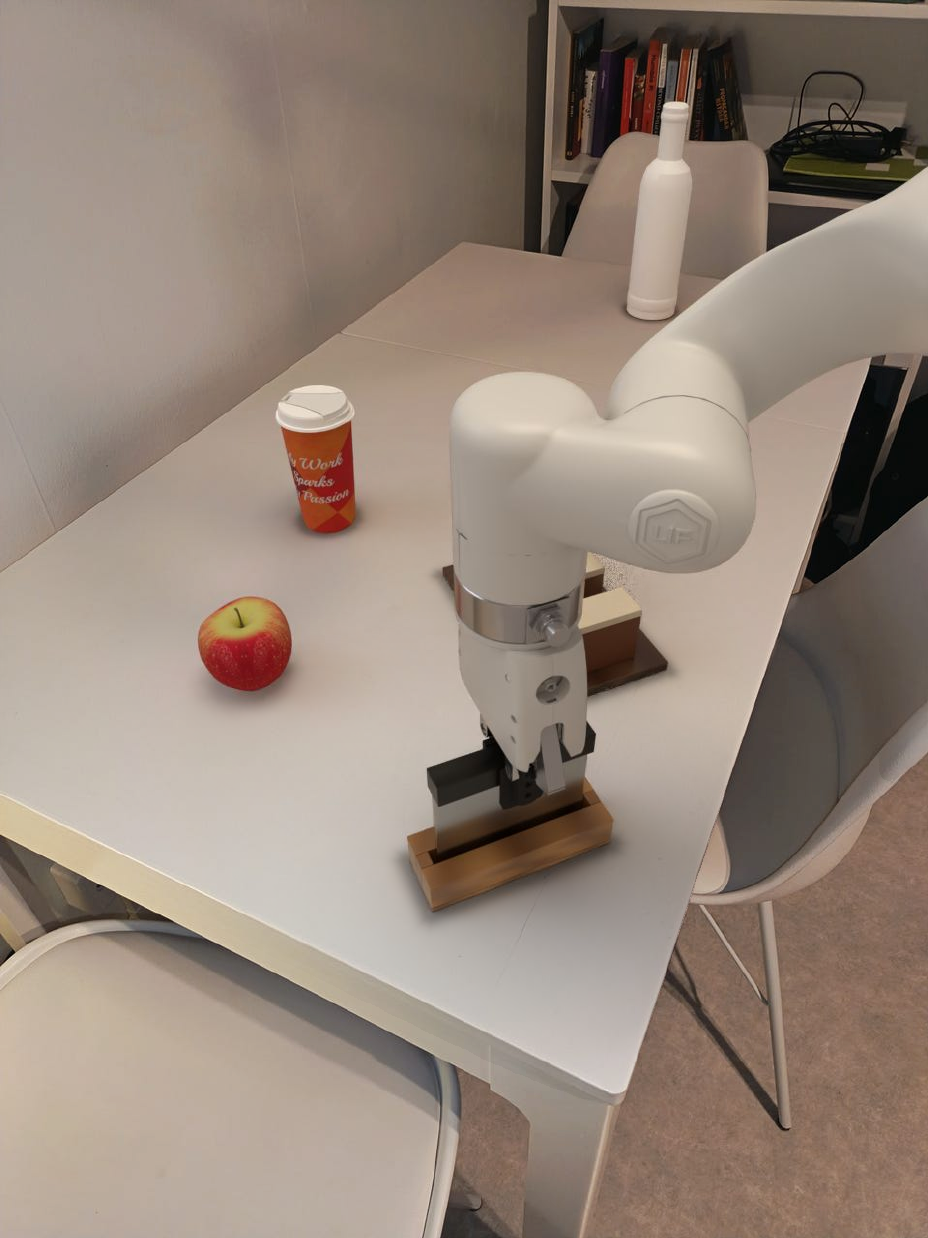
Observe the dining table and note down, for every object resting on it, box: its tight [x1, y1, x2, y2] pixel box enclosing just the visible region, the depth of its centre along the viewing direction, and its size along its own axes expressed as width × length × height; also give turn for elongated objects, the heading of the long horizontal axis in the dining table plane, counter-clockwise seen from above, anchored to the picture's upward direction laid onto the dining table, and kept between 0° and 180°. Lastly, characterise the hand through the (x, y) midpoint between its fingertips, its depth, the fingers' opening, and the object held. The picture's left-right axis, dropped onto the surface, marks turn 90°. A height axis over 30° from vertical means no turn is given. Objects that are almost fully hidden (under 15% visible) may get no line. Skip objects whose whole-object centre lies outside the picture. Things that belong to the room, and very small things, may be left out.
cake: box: [441, 551, 669, 697], centre depth 87 cm, size 14×22×7 cm, turn 23°
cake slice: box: [578, 586, 643, 673], centre depth 81 cm, size 9×4×6 cm, turn 113°
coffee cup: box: [275, 384, 356, 534], centre depth 98 cm, size 8×8×15 cm
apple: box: [197, 596, 293, 692], centre depth 80 cm, size 8×8×10 cm
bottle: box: [626, 101, 694, 321], centre depth 135 cm, size 8×8×30 cm
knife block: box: [406, 776, 615, 912], centre depth 68 cm, size 15×5×3 cm, turn 113°
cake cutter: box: [426, 719, 597, 863], centre depth 64 cm, size 12×2×10 cm, turn 113°
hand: (512, 785), depth 63 cm, fingers closed on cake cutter, 2 cm apart
